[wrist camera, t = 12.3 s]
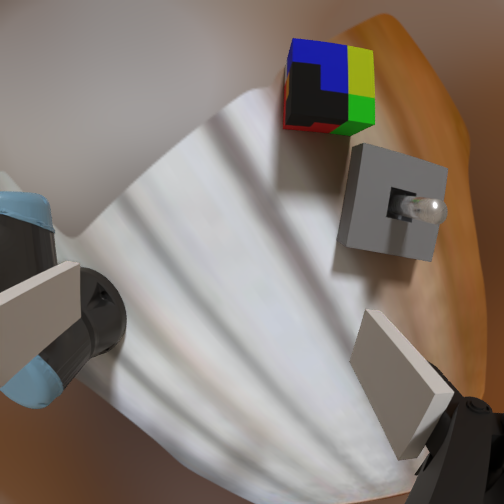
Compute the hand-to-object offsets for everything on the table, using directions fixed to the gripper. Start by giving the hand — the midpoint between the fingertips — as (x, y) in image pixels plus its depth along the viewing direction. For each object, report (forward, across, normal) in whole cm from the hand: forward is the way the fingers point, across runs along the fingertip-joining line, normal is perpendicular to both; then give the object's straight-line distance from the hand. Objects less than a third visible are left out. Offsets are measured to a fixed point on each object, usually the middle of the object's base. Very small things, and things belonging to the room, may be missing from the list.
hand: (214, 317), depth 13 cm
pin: (+31, +21, +7) cm, 38 cm away
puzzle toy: (+33, +8, +20) cm, 39 cm away
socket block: (+33, +21, +7) cm, 39 cm away
